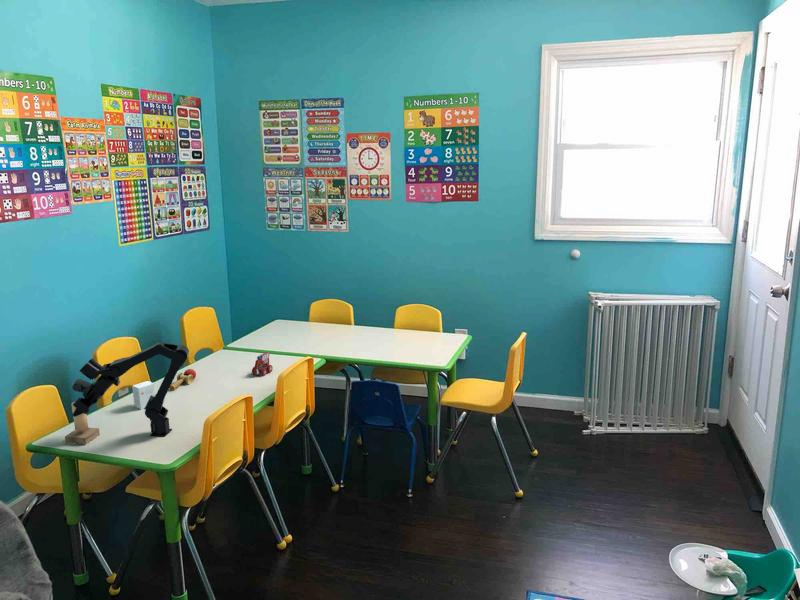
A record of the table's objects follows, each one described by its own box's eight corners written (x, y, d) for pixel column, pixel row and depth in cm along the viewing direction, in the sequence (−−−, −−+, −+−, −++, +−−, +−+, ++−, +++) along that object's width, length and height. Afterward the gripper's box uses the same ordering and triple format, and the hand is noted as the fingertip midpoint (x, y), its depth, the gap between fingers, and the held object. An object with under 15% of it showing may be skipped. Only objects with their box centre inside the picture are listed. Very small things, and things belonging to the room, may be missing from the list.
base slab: (99, 434, 262) (98, 428, 262) (86, 444, 254) (85, 437, 253) (79, 433, 264) (78, 427, 263) (65, 443, 255) (64, 436, 254)
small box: (150, 401, 297) (148, 380, 294) (156, 404, 293) (154, 383, 291) (134, 407, 291) (131, 385, 288) (140, 410, 287) (138, 388, 285)
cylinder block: (90, 425, 260) (86, 400, 258) (85, 430, 256) (81, 405, 253) (78, 425, 260) (74, 400, 257) (73, 431, 255) (69, 405, 253)
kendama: (180, 394, 309) (201, 376, 325) (176, 382, 307) (197, 365, 323) (168, 395, 312) (189, 377, 328) (163, 383, 310) (185, 366, 326)
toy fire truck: (249, 376, 328) (248, 357, 326) (263, 368, 339) (262, 350, 337) (261, 378, 325) (259, 358, 323) (274, 370, 337) (273, 351, 334)
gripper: (92, 365, 262) (68, 392, 263) (75, 381, 244) (49, 410, 245) (114, 382, 264) (90, 408, 266) (99, 399, 246) (73, 427, 248)
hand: (76, 413), depth 256 cm, fingers closed on cylinder block, 5 cm apart
